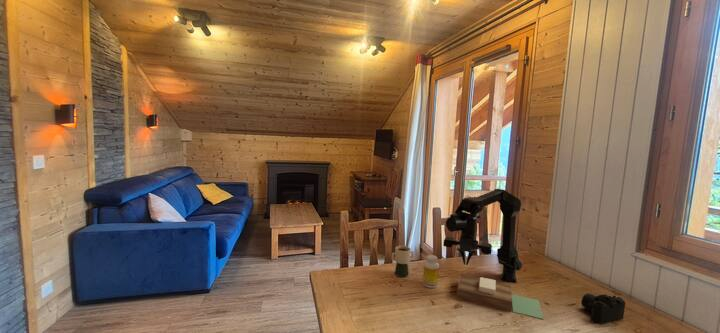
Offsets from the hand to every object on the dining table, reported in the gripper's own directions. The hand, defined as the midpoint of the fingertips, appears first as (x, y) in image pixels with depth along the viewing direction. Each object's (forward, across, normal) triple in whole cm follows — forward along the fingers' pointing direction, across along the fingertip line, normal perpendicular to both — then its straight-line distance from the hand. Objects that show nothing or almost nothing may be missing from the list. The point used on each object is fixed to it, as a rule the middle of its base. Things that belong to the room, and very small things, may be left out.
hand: (465, 264), depth 127 cm
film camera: (+12, +49, +7) cm, 51 cm away
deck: (+12, +8, 0) cm, 14 cm away
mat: (+12, +24, 0) cm, 26 cm away
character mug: (+12, -28, +2) cm, 31 cm away
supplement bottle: (+12, -14, -1) cm, 19 cm away
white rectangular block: (+8, +9, 0) cm, 12 cm away
